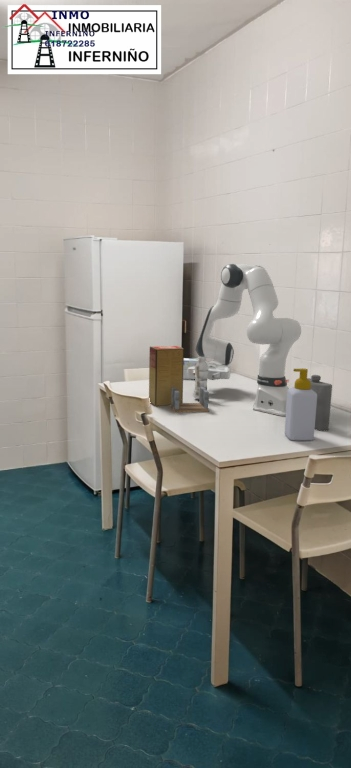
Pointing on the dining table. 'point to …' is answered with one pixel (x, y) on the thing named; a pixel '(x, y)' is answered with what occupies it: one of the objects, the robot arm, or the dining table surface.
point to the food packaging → (165, 374)
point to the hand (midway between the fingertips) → (203, 375)
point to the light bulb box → (188, 363)
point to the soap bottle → (301, 409)
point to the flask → (321, 402)
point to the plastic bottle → (200, 376)
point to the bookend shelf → (190, 407)
